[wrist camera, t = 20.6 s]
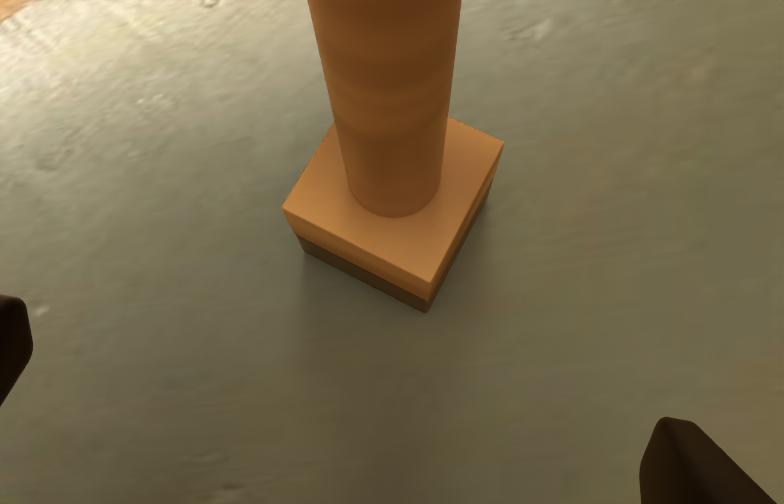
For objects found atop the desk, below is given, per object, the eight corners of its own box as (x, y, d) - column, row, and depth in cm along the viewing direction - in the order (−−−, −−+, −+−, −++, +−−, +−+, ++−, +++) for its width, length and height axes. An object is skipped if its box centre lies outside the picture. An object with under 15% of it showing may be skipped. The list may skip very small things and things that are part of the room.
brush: (426, 314, 23) (455, 94, 9) (303, 251, 24) (148, -46, 10) (487, 196, 25) (601, -165, 10) (369, 139, 25) (317, -270, 11)
